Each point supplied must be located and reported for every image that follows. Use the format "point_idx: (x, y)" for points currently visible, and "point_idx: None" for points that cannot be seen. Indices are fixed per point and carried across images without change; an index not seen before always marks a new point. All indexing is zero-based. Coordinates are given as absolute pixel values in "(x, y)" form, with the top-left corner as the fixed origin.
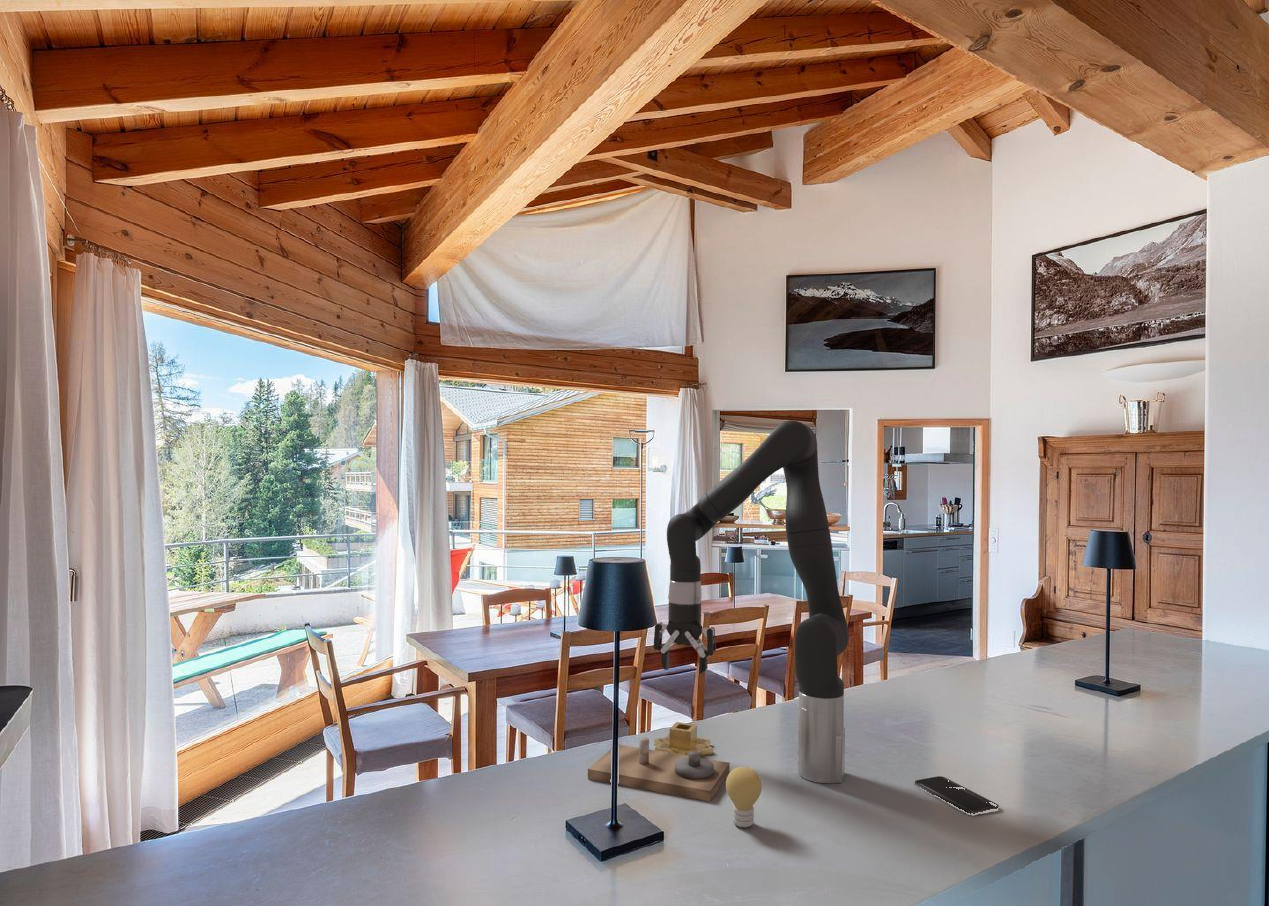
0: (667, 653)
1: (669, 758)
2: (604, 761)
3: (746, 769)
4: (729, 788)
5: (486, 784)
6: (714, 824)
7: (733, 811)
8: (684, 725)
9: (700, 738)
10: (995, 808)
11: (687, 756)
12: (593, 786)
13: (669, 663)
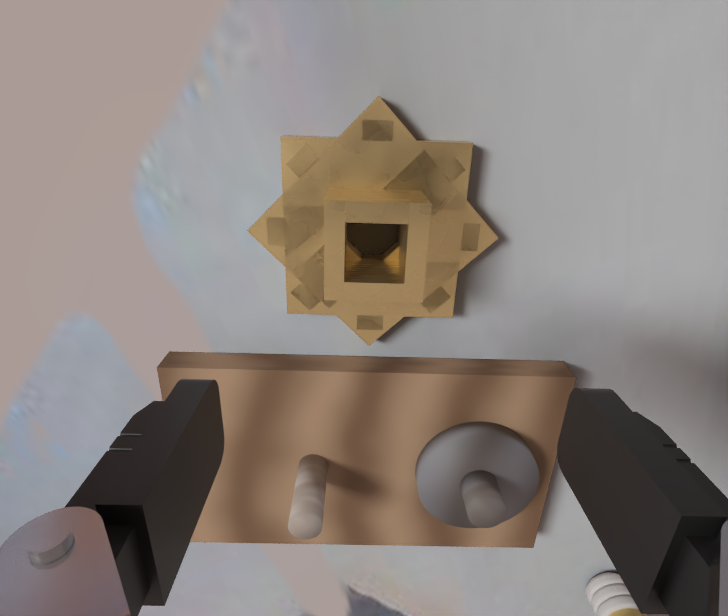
0: (153, 572)
1: (375, 412)
2: None
3: None
4: None
5: None
6: (544, 596)
7: (595, 610)
8: (371, 222)
9: (428, 145)
10: None
11: (429, 379)
12: (232, 544)
13: (200, 400)
